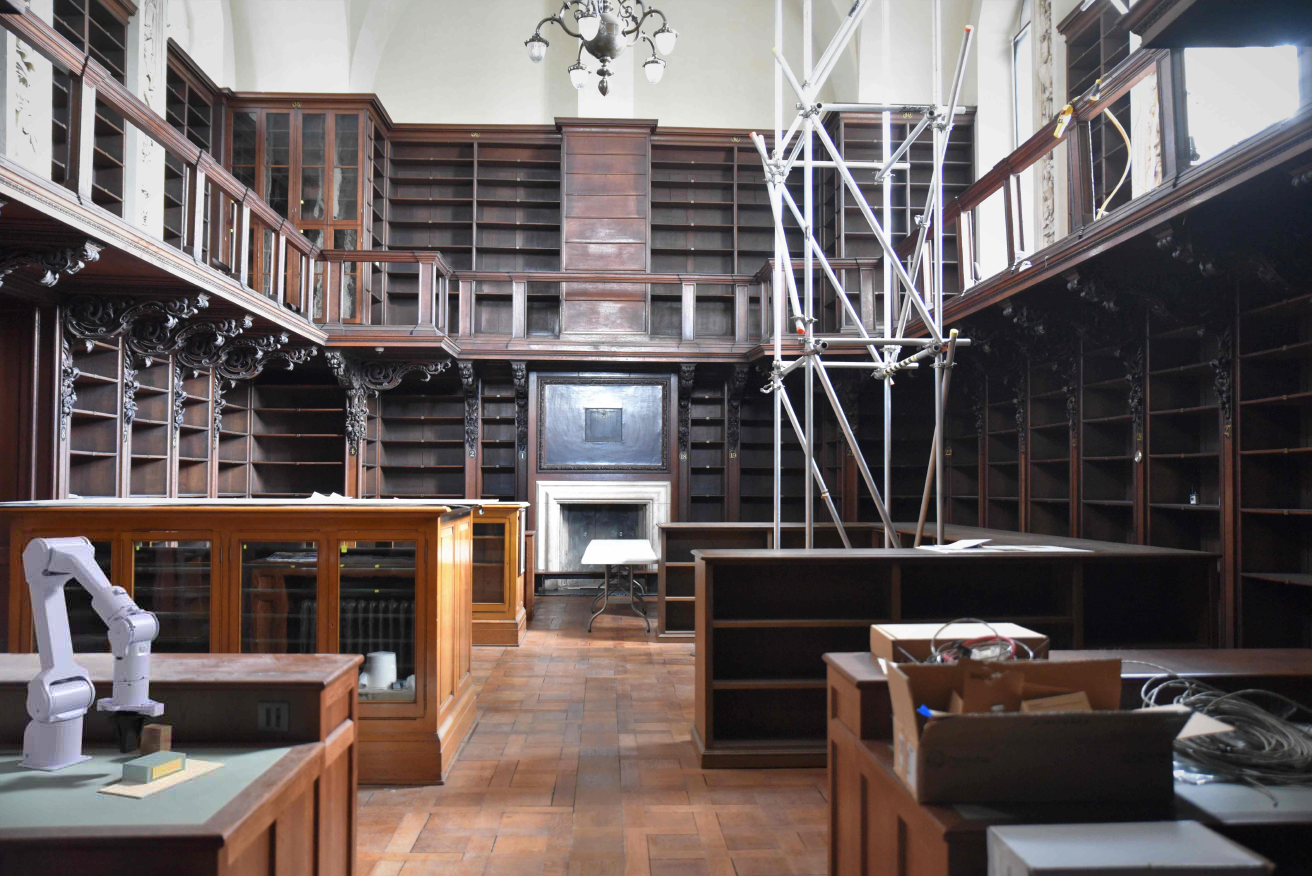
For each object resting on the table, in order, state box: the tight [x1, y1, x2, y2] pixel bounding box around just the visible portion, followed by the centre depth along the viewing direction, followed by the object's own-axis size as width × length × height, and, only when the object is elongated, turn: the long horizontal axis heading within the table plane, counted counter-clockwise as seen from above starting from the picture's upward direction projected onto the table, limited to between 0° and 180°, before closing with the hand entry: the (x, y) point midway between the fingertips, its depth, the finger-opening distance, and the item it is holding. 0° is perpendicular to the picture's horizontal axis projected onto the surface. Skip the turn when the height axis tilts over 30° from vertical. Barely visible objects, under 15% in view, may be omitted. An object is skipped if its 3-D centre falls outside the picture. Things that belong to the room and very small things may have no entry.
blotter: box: [97, 758, 227, 800], centre depth 149 cm, size 10×18×1 cm, turn 162°
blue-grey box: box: [121, 750, 187, 784], centre depth 150 cm, size 3×8×6 cm
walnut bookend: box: [139, 723, 172, 758], centre depth 161 cm, size 5×2×6 cm, turn 72°
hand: (128, 751), depth 152 cm, fingers closed
